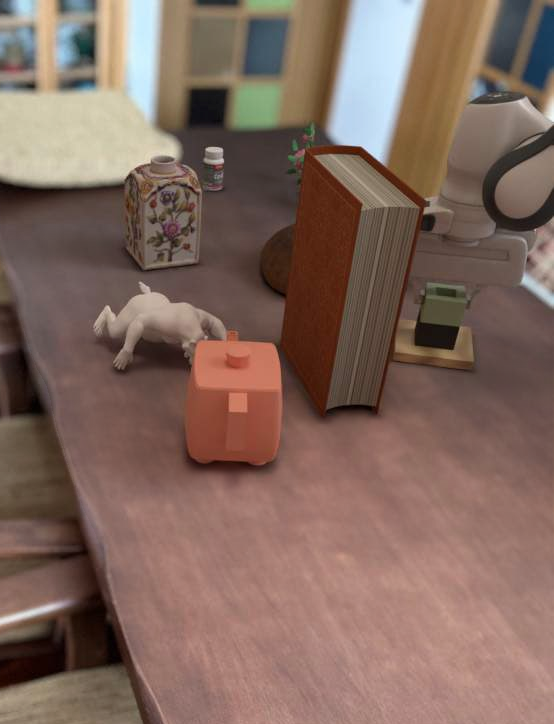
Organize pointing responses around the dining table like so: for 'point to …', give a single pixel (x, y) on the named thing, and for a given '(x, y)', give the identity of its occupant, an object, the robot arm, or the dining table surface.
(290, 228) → the bread
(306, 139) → the flower vase
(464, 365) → the base board
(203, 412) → the teapot
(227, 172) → the dining table surface
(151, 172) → the decorative jar
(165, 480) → the dining table surface
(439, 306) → the green hollow square block
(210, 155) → the pill bottle
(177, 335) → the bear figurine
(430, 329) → the black hollow square block
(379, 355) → the book
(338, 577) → the dining table surface
